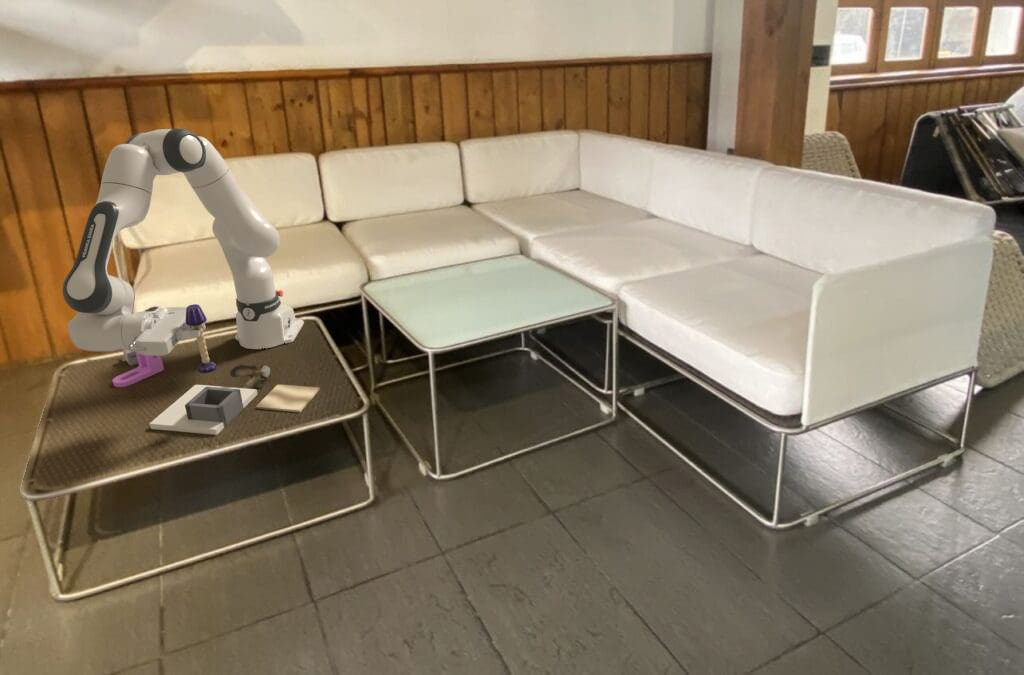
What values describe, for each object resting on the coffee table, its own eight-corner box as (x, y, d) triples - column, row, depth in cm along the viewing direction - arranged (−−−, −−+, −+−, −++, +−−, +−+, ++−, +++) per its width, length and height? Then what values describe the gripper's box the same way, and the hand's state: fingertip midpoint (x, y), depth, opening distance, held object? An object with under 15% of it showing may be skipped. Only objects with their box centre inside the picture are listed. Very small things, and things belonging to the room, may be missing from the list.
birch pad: (277, 386, 201) (277, 384, 201) (319, 389, 199) (319, 387, 198) (256, 408, 190) (255, 406, 190) (300, 412, 188) (299, 410, 188)
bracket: (152, 365, 214) (146, 343, 211) (164, 370, 211) (158, 347, 208) (109, 384, 204) (103, 361, 201) (121, 389, 201) (115, 366, 198)
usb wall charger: (129, 366, 214) (126, 353, 212) (123, 358, 219) (119, 345, 217) (144, 361, 216) (141, 349, 214) (137, 354, 221) (134, 341, 219)
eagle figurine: (253, 370, 207) (225, 378, 200) (262, 353, 203) (234, 360, 196) (268, 390, 205) (240, 399, 198) (278, 373, 201) (249, 381, 194)
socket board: (196, 389, 200) (192, 371, 198) (257, 394, 197) (254, 375, 195) (150, 428, 182) (145, 409, 180) (216, 434, 179) (212, 415, 177)
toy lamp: (209, 375, 179) (196, 310, 172) (191, 373, 180) (178, 309, 173) (220, 366, 183) (208, 302, 176) (203, 365, 184) (190, 301, 177)
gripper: (120, 338, 166) (183, 336, 166) (156, 303, 185) (213, 301, 185) (127, 363, 169) (189, 361, 169) (162, 326, 187) (217, 324, 188)
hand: (202, 329), depth 177 cm, fingers closed on toy lamp
